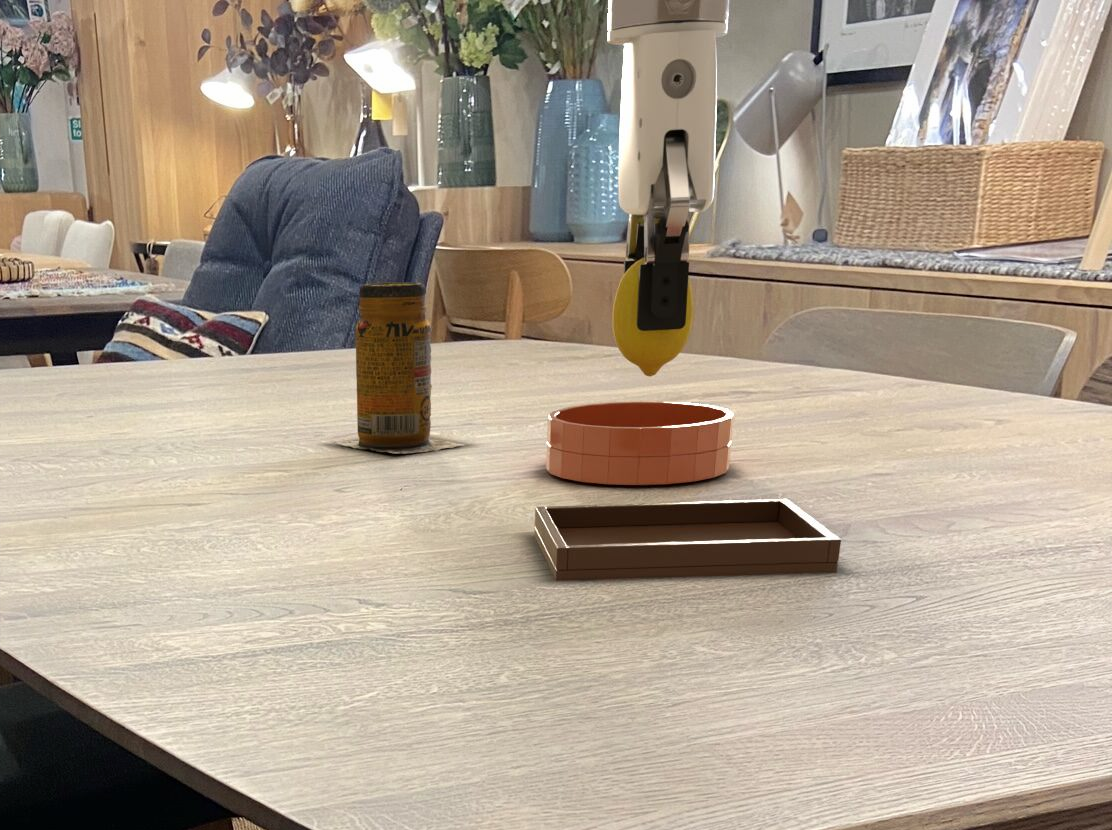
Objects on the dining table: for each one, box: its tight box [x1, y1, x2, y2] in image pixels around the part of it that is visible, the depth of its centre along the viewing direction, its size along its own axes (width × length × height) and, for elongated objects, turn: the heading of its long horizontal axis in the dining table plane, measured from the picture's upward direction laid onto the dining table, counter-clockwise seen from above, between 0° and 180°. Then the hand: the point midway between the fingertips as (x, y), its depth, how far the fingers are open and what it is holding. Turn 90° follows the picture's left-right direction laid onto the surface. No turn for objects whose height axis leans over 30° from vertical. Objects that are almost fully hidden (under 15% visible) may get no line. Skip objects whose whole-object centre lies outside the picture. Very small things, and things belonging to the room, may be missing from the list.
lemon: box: [611, 258, 695, 377], centre depth 100 cm, size 6×6×8 cm
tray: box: [533, 498, 842, 582], centre depth 82 cm, size 15×11×2 cm
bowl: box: [545, 401, 735, 486], centre depth 104 cm, size 13×13×4 cm
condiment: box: [335, 281, 466, 455], centre depth 116 cm, size 7×8×12 cm
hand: (652, 323), depth 100 cm, fingers closed on lemon, 5 cm apart
